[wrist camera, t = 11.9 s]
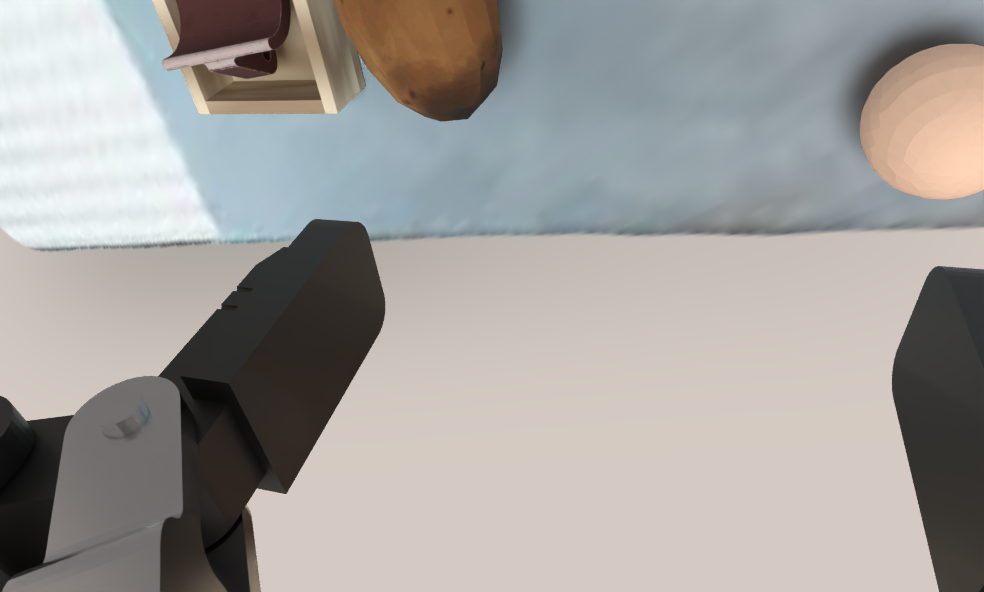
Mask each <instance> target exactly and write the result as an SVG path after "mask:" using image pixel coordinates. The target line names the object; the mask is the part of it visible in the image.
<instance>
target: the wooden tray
mask: <svg viewBox="0 0 984 592" xmlns="http://www.w3.org/2000/svg"><path fill="white" fill-rule="evenodd" d="M152 1H153V4H154V6H155V8H156V11H157V13H158V16H159V18H160V20H161V23H162V25H163V28H164V30H165V32H166V35H167V37H168V40H169V42H170V45H171V47H172V49H173V52H174V51H175V50H176V48H177V46H178V43H179V38H180V17H179V11H178V7H177V3H176V0H152ZM290 5H291V21H290V28H289V33H288V36H287V38H286V40H285V42H284V44H283V45H282V46H281V47H279V48H278V49H275V50H276V53H277V59H278V67H277V71H276V72H275V73H274V74H271V75H266V76H261V77H256V78H250V79H243V78H239V77H234V76H229V75H224V74H219V73H214V72H211V71H209V69H208V68H207V66H206V65H205V64H199V65H194V66H189V67H184V68H180V69H181V71H182V73H183V76H184V78H185V81H186V83H187V86H188V88H189V90H190V93H191V95H192V98H193V100H194V102H195V105H196V107H197V110H198V112H199V114H322V113H339V112H340V111H341V110H342V109H343V108H344V107H345V106H346V105H347V104H348V103H349V102H350V101H351V100H352V99H353V98H354V97H355V96H356V95H357V94H358V93H360V92H361V91H362V90H363V89H364V88H365V87H366V86H365V81H364V77H363V73H362V69H361V65H360V61H359V57H358V53H357V50H356V48H355V46H354V44H353V43H352V41H351V39H350V38H349V36H348V34H347V33H346V31H345V29H344V27H343V26H342V24H341V21H340V18H339V15H338V12H337V9H336V7H335V4H334V1H333V0H290Z"/></svg>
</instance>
